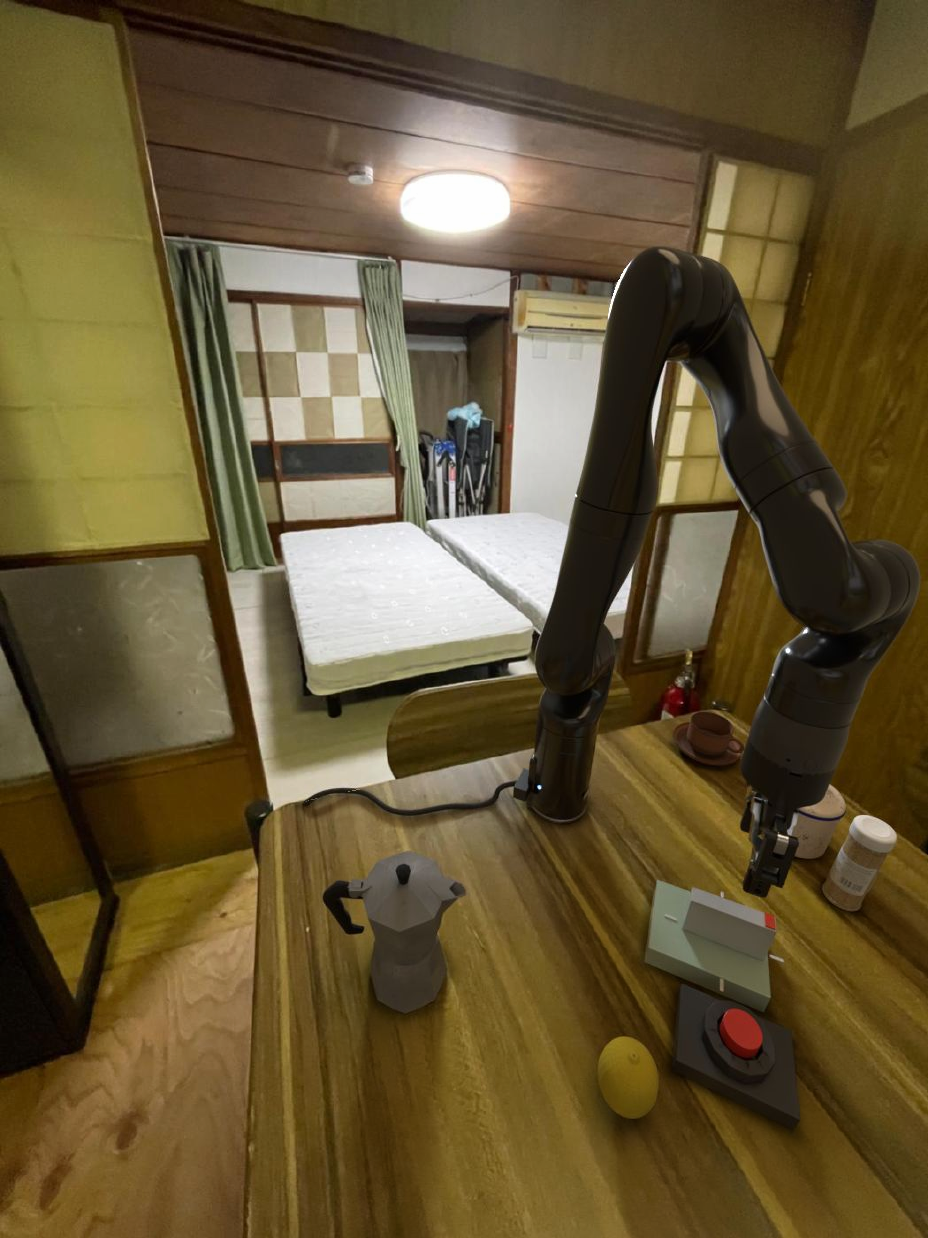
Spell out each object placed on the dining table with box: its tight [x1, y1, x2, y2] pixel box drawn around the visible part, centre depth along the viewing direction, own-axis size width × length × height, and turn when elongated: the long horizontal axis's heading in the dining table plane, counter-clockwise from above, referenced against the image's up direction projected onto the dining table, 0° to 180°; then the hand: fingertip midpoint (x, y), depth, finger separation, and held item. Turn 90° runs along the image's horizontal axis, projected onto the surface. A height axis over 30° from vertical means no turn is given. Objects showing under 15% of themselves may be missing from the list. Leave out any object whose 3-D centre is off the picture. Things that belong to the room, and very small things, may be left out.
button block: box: [671, 983, 801, 1131], centre depth 53 cm, size 11×8×4 cm
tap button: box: [720, 1009, 763, 1058], centre depth 52 cm, size 4×4×2 cm
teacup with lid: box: [763, 784, 847, 860], centre depth 77 cm, size 12×9×12 cm
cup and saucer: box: [672, 711, 745, 767], centre depth 96 cm, size 12×12×6 cm
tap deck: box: [643, 879, 785, 1013], centre depth 63 cm, size 15×13×3 cm
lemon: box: [597, 1035, 660, 1120], centre depth 49 cm, size 6×6×8 cm
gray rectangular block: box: [682, 886, 778, 961], centre depth 61 cm, size 9×2×6 cm, turn 65°
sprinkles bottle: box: [821, 814, 898, 912], centre depth 68 cm, size 5×5×14 cm
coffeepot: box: [322, 850, 467, 1015], centre depth 57 cm, size 15×9×18 cm, turn 90°
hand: (751, 860), depth 57 cm, fingers open, 8 cm apart
